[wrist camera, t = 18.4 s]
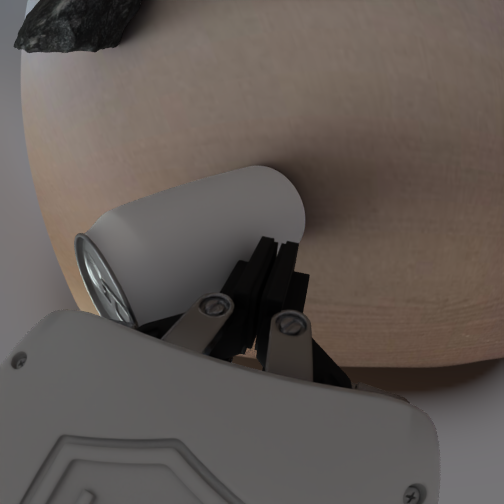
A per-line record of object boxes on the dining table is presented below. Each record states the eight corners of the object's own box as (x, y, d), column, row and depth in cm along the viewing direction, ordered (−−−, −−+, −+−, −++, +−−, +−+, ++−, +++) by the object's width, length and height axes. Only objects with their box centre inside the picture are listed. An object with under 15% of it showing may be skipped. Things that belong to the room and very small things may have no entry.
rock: (146, 56, 15) (38, 54, 7) (89, 53, 16) (-3, 61, 7) (177, -26, 11) (87, -66, 3) (114, -19, 11) (27, -34, 3)
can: (246, 146, 17) (63, 193, 9) (326, 201, 15) (149, 313, 7) (220, 219, 21) (80, 288, 13) (283, 272, 20) (147, 380, 11)
